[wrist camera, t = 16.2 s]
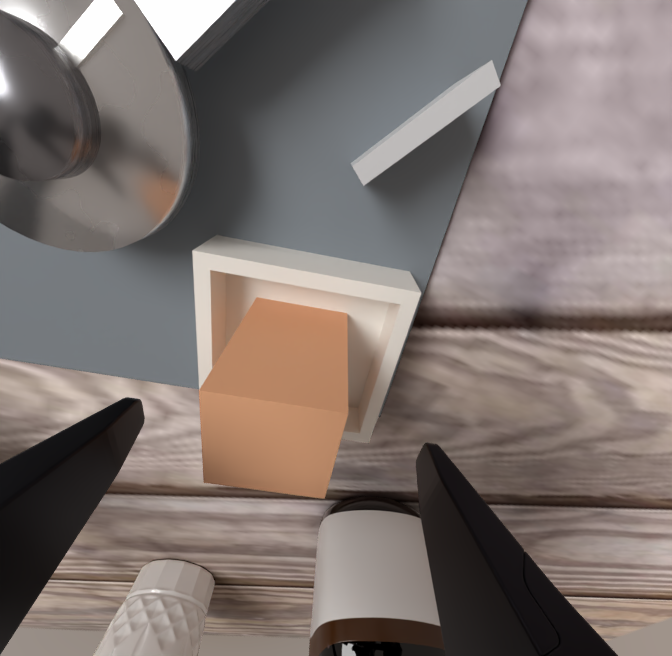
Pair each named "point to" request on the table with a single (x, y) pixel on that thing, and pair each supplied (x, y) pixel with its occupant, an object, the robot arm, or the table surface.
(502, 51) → the faceplate
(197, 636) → the white cup
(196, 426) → the table surface
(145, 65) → the crank wheel
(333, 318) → the block
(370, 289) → the tray
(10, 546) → the robot arm
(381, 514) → the spread jar
